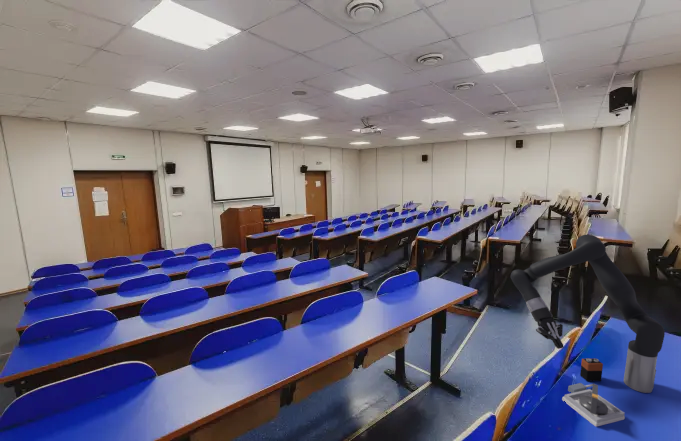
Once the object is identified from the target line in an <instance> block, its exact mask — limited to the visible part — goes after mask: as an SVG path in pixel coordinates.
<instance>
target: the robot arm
mask: <svg viewBox="0 0 681 441" xmlns="http://www.w3.org/2000/svg"><path fill="white" fill-rule="evenodd" d="M583 263H589V264H590V266H591V267H592V269H593V270H592V271H594V274H595V276H596V277H597V280H598V281H599V284H600V285H601V287H602V288H603V290H604V291H605V293H606V294H607V295H608V297H609V298H610V299H611V300H612V302H613V303H614V304H615V305H616V307H617V308H618V309H619V311H620V313H621V315H622V316H623V319H624V320H625V323H626V324H627V326H628V327H629V329H630V330H631V331H632V332H633V333H634V334H635V338H634V339H632V340H630V341H629V342H628V344H627V345H628V346H627V352H626V353H627V354H626V360H625V361H626V362H625V368H624V375H623V383H624V384H625V385H626V386H627V387H629V388H630V389H632V390H634V391H637V392H640V393H644V394H645V393H646V394H650V393H652V392H653V389H654V387H655V386H654V384H655V378H656V375H657V374H656V373H657V369H656V367H657V360H658V354H659V353H660V352H661V351H662V348H663V344H664V341H665V340H664V339H665V334H666V333H665V328H664V326H663V325H662V324H661V323H659V322H658V321H657V320H655V319H654V318H652V317H651V316H649V314H648V313H646V312H645V310H644V309H643V308H642V306H641V305H640V304H639V302H638V300H637V294H636V291H635V289H634V287H633V285H632V284H631V282H630V281H629V279H628V278H627V277H626V276H625V274H624V273H623V272H622V271H621V269H620V268H619V267H618V266H617V264H616V263H614V262H613V260H612V259H611V258H610V256H609V255H608V254H607V251H606V246H605V244H604V243H603V241H602V240H601V239H600V238H599V237H597V236H595V235H593V234H582V235H581V236H579V237H578V238H577V240H576V242H575V248H574V249H572V250H571V251H568V252H566V253H562V254H559V255H554V256H549V257H546V258H542V259H541V260H538V261H536V262H534V263H531V264H530V265H529V267H528V268H526V269H519V268H518V269H514V270H512V271H511V273H510V279H511V282H512V284H513V285H514V286H515V288H516V290H518V291H519V293H520V294H521V297H522V299H523V300H524V302H525V303H526V304H525V305H526V306H527V309H528V310H529V312H530V313H531V314H530V315H531V316H532V318H533V319H534V321H535V323H537V326H538V327H537V328H536V329H535V331H536V332H537V333H538V334H540V335H541V336H542V337H543V338H545V339H546V340H551V342H552V343H553V344H554V346H555V347H556V349H558V350H559V349H563V348H565V347H564V343H563V341H561V337H563V330H564V326H563V323H557V322H556V320H555V319H554V318H553V314H552V311H550V309H549V307H548V306H547V304H546V301H545V300H544V299H543V298H542V297H541V294H540V293H539V292H538V289H537V288H536V287H535V286H533V285H532V283H533V282H536V281H537V280H538V279H540V278H542V277H546V276H547V275H549V274H552V273H554V272H557V271H560V270H562V269H563V270H564V269H566V268H569V267H572V266H576V265H579V264H583Z"/></svg>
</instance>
